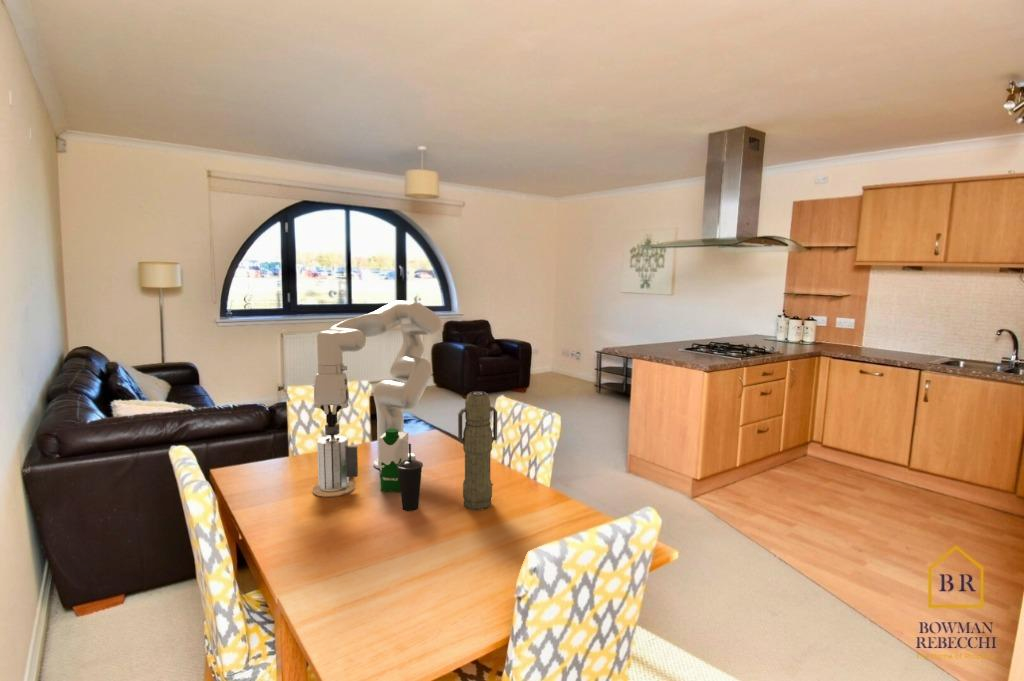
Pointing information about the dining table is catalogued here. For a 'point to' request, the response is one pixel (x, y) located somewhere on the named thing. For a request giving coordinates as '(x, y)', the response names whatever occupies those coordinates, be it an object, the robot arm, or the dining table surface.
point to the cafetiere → (335, 466)
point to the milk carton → (392, 458)
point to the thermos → (477, 449)
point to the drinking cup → (410, 482)
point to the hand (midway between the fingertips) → (332, 425)
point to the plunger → (332, 431)
